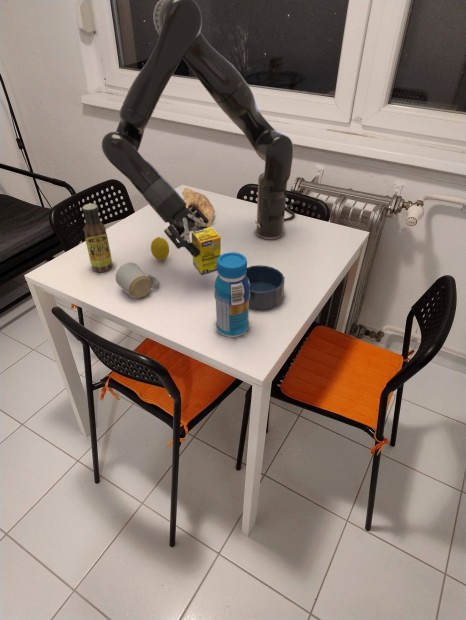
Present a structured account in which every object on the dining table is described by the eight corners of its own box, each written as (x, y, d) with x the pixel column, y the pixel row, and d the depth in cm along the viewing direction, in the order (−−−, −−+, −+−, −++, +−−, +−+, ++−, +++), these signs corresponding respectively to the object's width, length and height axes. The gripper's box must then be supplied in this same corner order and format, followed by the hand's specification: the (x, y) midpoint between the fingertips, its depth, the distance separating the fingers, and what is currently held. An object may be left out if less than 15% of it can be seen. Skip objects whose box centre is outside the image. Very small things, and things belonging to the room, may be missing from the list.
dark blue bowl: (247, 278, 117) (247, 261, 113) (288, 289, 113) (290, 271, 109) (229, 303, 108) (228, 285, 104) (273, 315, 104) (275, 297, 100)
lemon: (167, 265, 123) (164, 242, 118) (150, 263, 123) (146, 240, 118) (172, 256, 127) (170, 233, 122) (156, 254, 128) (153, 232, 123)
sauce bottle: (94, 275, 119) (77, 213, 106) (90, 264, 123) (74, 204, 110) (116, 270, 121) (102, 208, 108) (111, 260, 125) (98, 200, 113)
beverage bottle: (210, 333, 99) (206, 265, 86) (223, 313, 105) (221, 246, 92) (242, 342, 96) (243, 273, 84) (253, 320, 102) (256, 253, 90)
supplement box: (201, 276, 109) (200, 242, 101) (192, 264, 112) (190, 231, 105) (221, 270, 111) (221, 236, 103) (211, 258, 114) (211, 225, 107)
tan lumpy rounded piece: (208, 244, 145) (212, 230, 139) (169, 235, 143) (171, 221, 136) (214, 207, 154) (218, 193, 147) (177, 198, 152) (179, 184, 145)
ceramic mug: (132, 304, 108) (127, 280, 103) (117, 290, 112) (112, 267, 108) (165, 289, 113) (162, 266, 108) (150, 277, 118) (146, 254, 113)
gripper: (156, 202, 96) (201, 254, 100) (186, 181, 106) (225, 228, 110) (141, 219, 101) (184, 267, 105) (171, 197, 111) (209, 241, 115)
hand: (205, 247), depth 107 cm, fingers closed on supplement box, 8 cm apart
